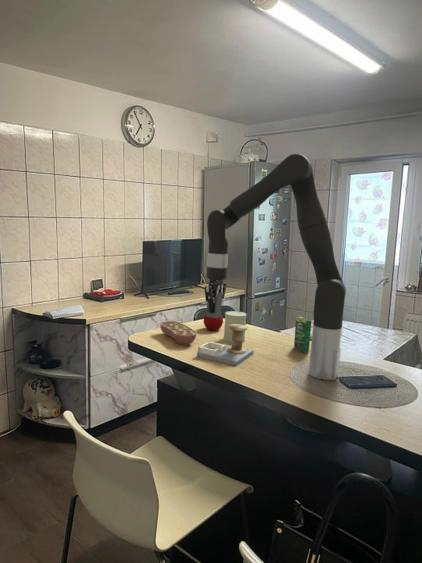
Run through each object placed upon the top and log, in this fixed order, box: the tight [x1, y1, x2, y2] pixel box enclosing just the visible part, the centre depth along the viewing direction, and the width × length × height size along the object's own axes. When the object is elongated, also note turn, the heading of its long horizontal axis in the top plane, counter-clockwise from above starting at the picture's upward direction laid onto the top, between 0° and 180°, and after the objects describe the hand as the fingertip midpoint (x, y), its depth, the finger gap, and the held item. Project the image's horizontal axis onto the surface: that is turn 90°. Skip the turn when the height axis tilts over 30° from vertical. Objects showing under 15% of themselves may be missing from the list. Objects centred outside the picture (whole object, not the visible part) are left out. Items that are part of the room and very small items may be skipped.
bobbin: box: [227, 324, 248, 354], centre depth 156 cm, size 7×7×10 cm
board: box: [196, 341, 254, 367], centre depth 155 cm, size 16×16×4 cm
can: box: [222, 310, 247, 344], centre depth 176 cm, size 9×9×12 cm
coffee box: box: [293, 316, 312, 354], centre depth 167 cm, size 8×3×13 cm, turn 17°
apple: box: [203, 312, 224, 331], centre depth 191 cm, size 9×9×10 cm
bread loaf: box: [159, 321, 197, 346], centre depth 173 cm, size 23×10×5 cm, turn 30°
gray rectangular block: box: [205, 292, 223, 318], centre depth 152 cm, size 4×4×11 cm
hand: (214, 311), depth 153 cm, fingers closed on gray rectangular block, 4 cm apart
